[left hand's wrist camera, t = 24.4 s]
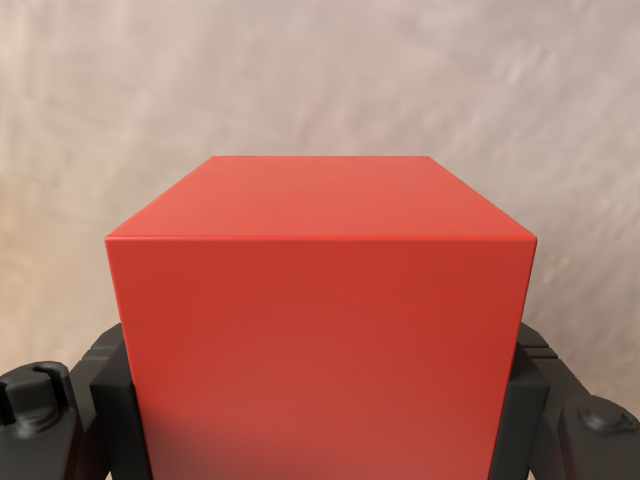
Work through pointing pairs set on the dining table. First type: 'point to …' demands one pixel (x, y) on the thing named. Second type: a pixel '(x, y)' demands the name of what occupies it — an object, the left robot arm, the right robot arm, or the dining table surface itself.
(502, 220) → the cube
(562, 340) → the dining table surface
